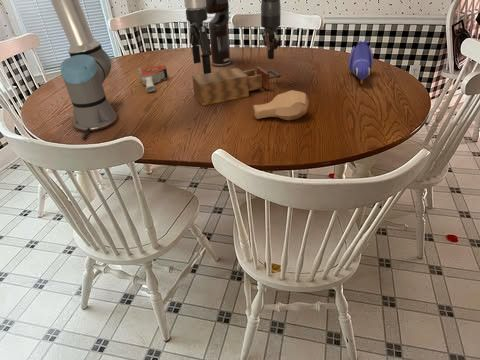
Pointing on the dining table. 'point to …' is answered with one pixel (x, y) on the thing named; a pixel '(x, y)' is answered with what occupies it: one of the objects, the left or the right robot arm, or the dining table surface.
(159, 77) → the tape dispenser
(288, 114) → the squash
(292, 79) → the dining table surface
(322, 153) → the dining table surface
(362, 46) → the toy
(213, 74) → the brown wooden block
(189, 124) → the dining table surface
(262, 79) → the drawer
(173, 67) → the dining table surface
